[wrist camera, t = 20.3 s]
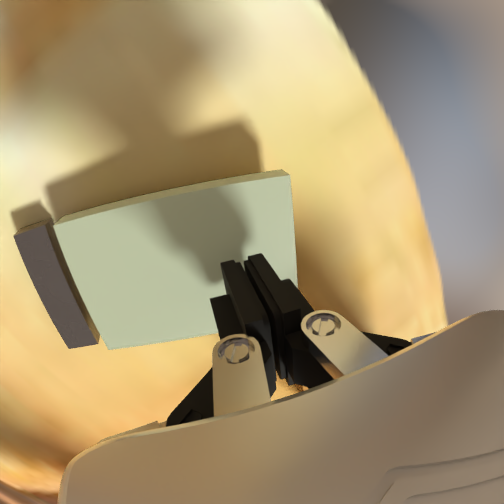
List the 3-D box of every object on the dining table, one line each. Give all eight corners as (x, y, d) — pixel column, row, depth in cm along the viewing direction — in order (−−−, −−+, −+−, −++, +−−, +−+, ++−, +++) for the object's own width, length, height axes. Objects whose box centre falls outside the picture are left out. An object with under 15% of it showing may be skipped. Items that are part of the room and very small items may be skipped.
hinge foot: (100, 332, 15) (98, 343, 14) (72, 337, 14) (68, 348, 14) (51, 217, 12) (44, 225, 11) (21, 228, 11) (13, 235, 10)
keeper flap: (112, 334, 15) (292, 301, 16) (108, 349, 14) (298, 315, 15) (63, 216, 11) (281, 169, 12) (52, 225, 10) (289, 175, 11)
